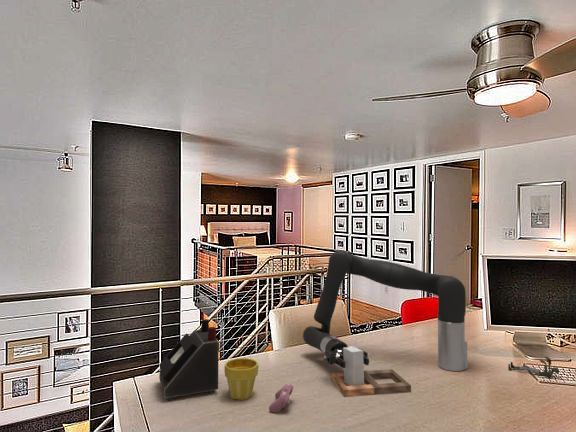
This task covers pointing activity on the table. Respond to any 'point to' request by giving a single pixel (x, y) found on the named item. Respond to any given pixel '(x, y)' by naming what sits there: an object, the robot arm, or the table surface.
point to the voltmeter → (191, 364)
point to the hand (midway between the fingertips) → (356, 363)
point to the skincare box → (353, 366)
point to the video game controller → (281, 398)
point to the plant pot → (241, 377)
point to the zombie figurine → (536, 371)
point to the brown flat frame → (373, 383)
